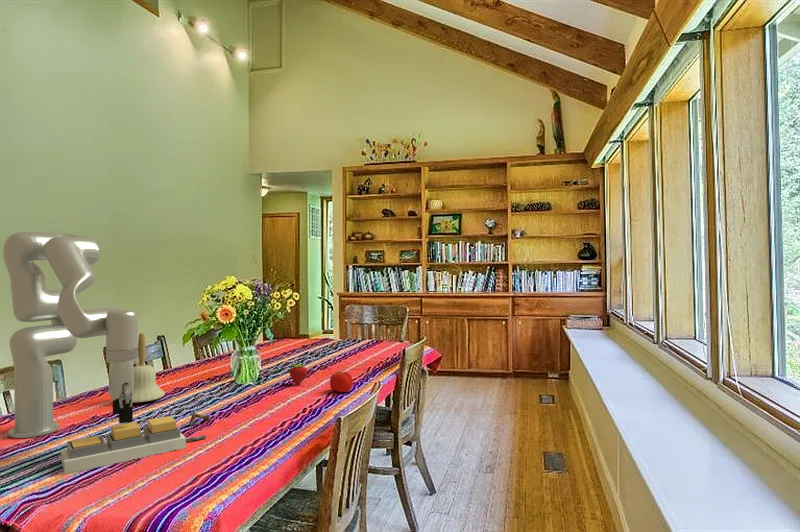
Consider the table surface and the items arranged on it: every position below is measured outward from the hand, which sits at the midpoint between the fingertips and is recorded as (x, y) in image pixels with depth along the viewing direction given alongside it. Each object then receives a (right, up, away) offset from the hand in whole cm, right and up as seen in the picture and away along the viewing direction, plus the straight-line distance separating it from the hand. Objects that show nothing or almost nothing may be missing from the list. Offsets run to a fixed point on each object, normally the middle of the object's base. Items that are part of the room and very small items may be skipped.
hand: (122, 417), depth 141 cm
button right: (+10, -3, +2) cm, 11 cm away
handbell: (-19, -8, +49) cm, 53 cm away
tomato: (+53, -8, +63) cm, 83 cm away
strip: (+6, -9, -2) cm, 11 cm away
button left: (-4, -5, -9) cm, 12 cm away
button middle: (+3, -3, -4) cm, 6 cm away
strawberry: (+34, -8, +74) cm, 81 cm away
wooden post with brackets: (+12, -9, +22) cm, 27 cm away
